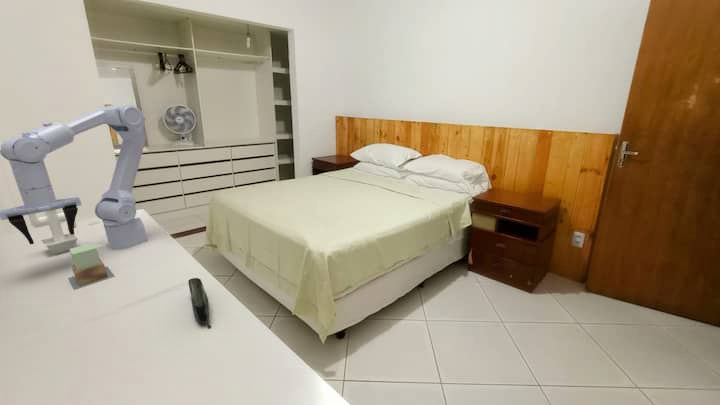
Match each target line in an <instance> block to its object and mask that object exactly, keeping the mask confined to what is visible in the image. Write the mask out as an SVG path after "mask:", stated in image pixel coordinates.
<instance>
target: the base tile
mask: <svg viewBox="0 0 720 405" xmlns="http://www.w3.org/2000/svg"><path fill="white" fill-rule="evenodd" d="M105 269H106V272H107V276H108V277H105V278H102V279H99V280H96V281H93V282H90V283H87V284H84V285H81V286H79V284H78V282H77V280H76V278H75V275H73V276H71V277H68V278H67V279H68V281H69V283H70V285H71V287H72V289H73V291H75V290H79V289H81V288H85V287H87V286H90V285H94V284H97V283H99V282H102V281H105V280H109V279H112V278H114V277H115V274H114V273H113V272H112V271H111V269H110V268H109V267H108V266H106V265H105Z"/></svg>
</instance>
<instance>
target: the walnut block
mask: <svg viewBox="0 0 720 405" xmlns="http://www.w3.org/2000/svg"><path fill="white" fill-rule="evenodd" d="M99 259H100V263H101V264H100V265H97V266H94V267H90V268H87V269H84V270H80V271H77V269H76V267H75V265H74V264H73V265H71V268H72V271H73V276H75V278H76V280H77V282H78V284H79V286H81V285H84V284H87V283H90V282H93V281H96V280H99V279H102V278H105V277H108V276H107V272H106V269H105V267H106V265H105V263H104V262H103V261H102V259H101V258H100V257H99Z"/></svg>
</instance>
